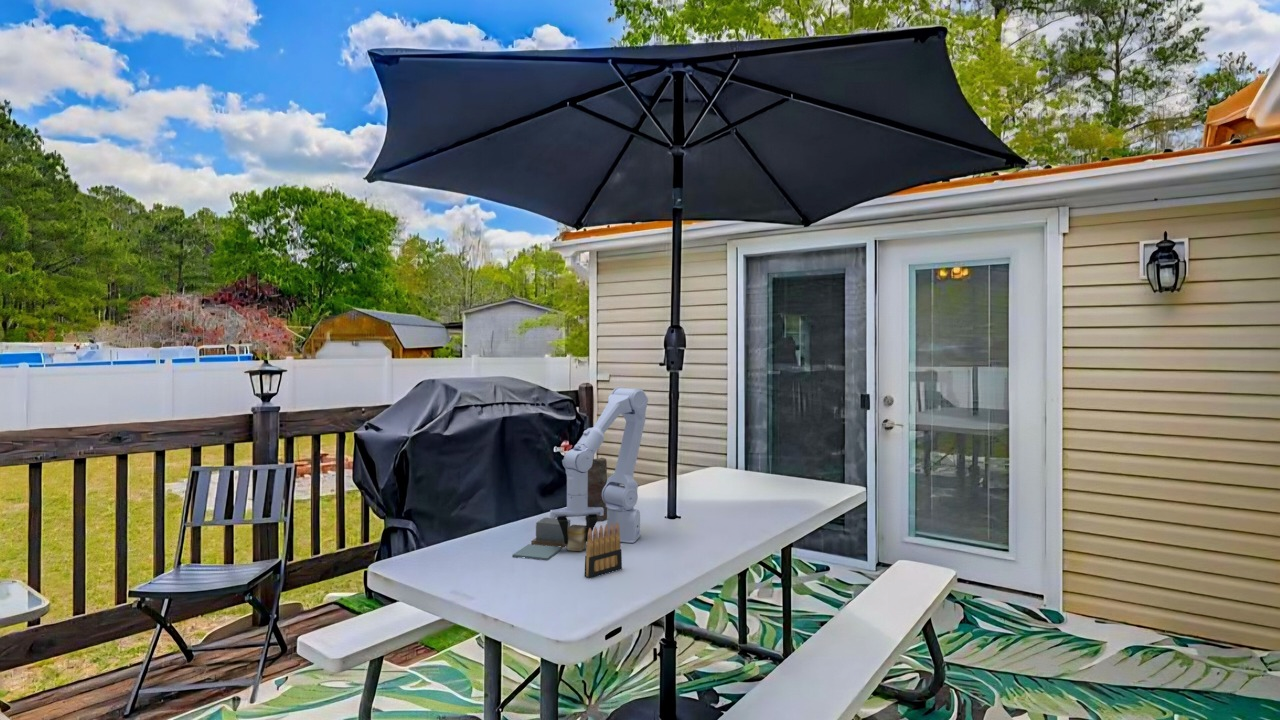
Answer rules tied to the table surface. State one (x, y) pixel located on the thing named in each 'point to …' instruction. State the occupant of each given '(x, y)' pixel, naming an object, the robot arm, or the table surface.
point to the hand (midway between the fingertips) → (576, 542)
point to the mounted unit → (549, 533)
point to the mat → (537, 552)
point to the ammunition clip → (603, 551)
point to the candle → (597, 485)
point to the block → (576, 537)
